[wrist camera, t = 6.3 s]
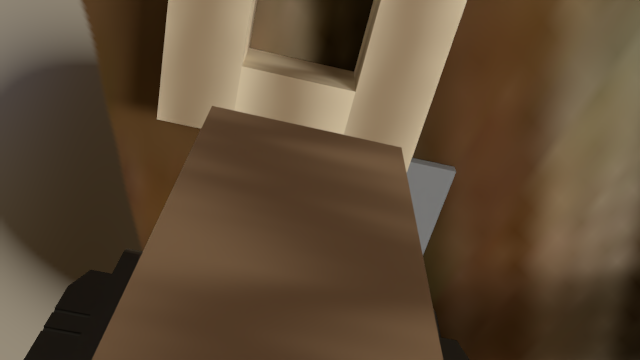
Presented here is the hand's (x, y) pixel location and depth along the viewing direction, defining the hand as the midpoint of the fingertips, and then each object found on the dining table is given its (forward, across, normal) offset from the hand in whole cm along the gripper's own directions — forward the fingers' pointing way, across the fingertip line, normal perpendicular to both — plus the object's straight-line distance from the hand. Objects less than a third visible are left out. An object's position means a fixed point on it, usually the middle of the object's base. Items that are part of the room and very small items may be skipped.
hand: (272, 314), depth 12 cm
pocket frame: (+23, 0, 0) cm, 23 cm away
